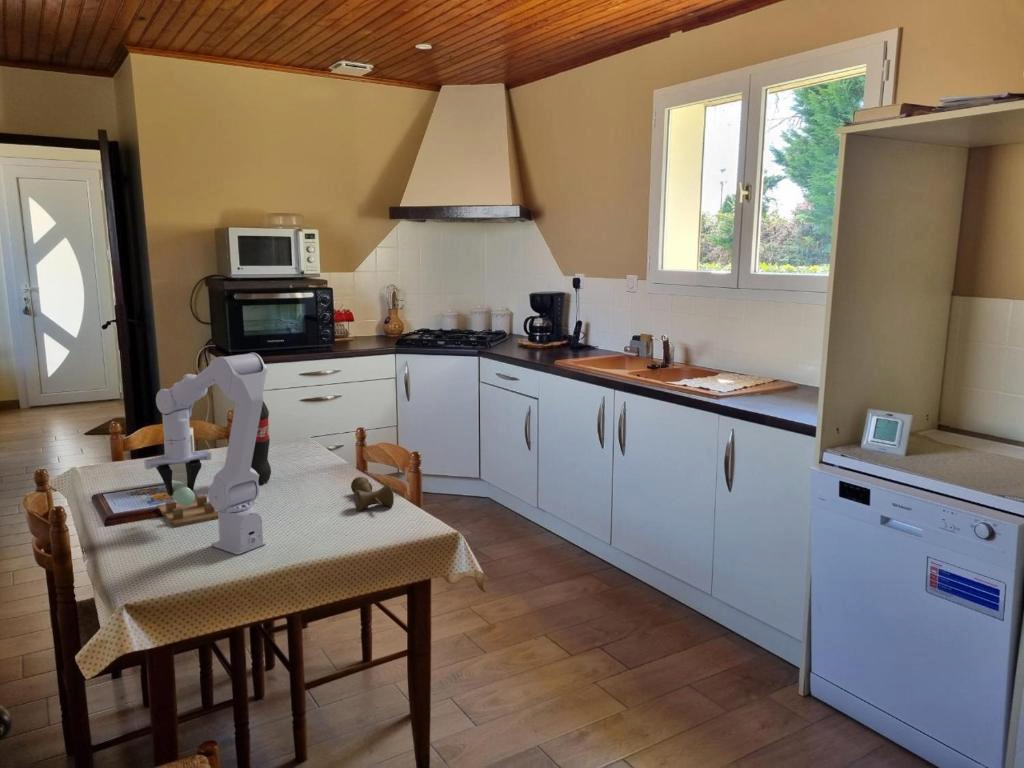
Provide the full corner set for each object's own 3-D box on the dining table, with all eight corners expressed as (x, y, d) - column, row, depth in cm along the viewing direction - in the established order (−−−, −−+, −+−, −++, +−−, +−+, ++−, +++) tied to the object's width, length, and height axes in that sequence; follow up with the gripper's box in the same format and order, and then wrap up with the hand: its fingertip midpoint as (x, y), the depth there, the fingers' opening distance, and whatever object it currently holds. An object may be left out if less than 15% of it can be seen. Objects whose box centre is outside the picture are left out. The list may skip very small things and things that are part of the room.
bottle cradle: (221, 518, 187) (220, 505, 186) (174, 527, 180) (173, 513, 179) (201, 501, 199) (200, 488, 198) (156, 509, 192) (156, 496, 191)
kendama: (376, 492, 211) (399, 512, 193) (342, 497, 206) (363, 518, 189) (375, 472, 210) (398, 490, 192) (341, 477, 205) (362, 496, 188)
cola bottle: (265, 487, 212) (261, 383, 207) (235, 486, 212) (230, 382, 207) (275, 478, 220) (271, 378, 215) (246, 477, 220) (242, 377, 215)
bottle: (192, 506, 176) (196, 490, 176) (175, 505, 174) (179, 488, 174) (178, 493, 186) (181, 478, 186) (161, 492, 183) (164, 476, 183)
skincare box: (172, 480, 216) (168, 428, 213) (197, 478, 218) (194, 427, 215) (170, 489, 208) (166, 435, 205) (195, 487, 210) (192, 433, 208)
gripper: (203, 430, 184) (206, 483, 186) (139, 438, 175) (143, 494, 177) (212, 436, 179) (215, 490, 181) (147, 445, 170) (151, 502, 172)
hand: (180, 492), depth 179 cm, fingers closed on bottle, 4 cm apart
